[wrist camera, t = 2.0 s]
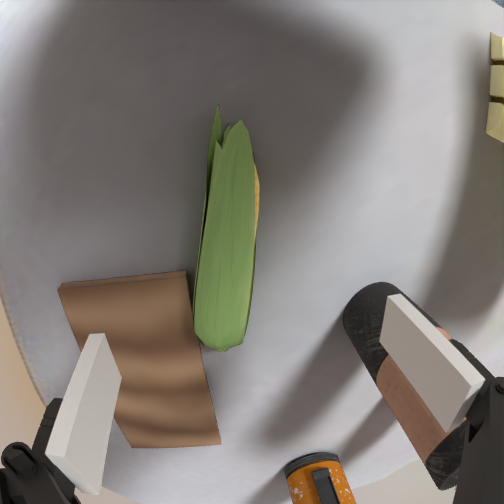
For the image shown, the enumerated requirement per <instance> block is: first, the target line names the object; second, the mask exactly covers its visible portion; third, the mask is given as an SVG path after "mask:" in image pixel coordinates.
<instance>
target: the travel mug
mask: <svg viewBox="0 0 504 504" xmlns="http://www.w3.org/2000/svg"><path fill="white" fill-rule="evenodd" d="M395 294H401V295H402V296H403V297H405V298H406V299H407V300H408V301H409V302H410V303H411V304H412V305H413V306H414V307H415V308H416V309H417V310H418V311H419V312H420V313H421V314H422V315H423V316H424V317H425V318H426V319H427V320H428V321H429V322H430V323H431V324H432V325H434V326H435V327H436V328H437V329H438V330H439V331H440V332H441V333H442V334H443V335H444V336H445V337H446V338H447V340H450V339H452V338H451V336H450V335H449V334H448V333H447V332H446V331H445V330H444V329H443V328H442V327H440V326H439V325H438V324H437V323H436V322H435V321H434V320H433V319H432V318H431V317H430V316H429V315H427V314H426V313H425V312H424V311H423V310H422V309H421V308H420V307H419V306H417V305H416V304H415V303H414V302H413V301H412V300H411V299H410V298H408V297H407V296H406V295H405V294H404V293H403V292H402V291H400V290H399V289H398V288H397V287H395V286H394V285H392V284H390V283H386V282H378V283H373V284H371V285H368V286H366V287H365V288H363V289H361V290H360V291H359V292H358V293H357V294H356V295H355V296H354V297H353V298H352V299H351V300H350V302H349V303H348V305H347V307H346V309H345V312H344V317H343V324H344V328H345V330H346V332H347V334H348V336H349V338H350V340H351V341H352V343H353V345H354V347H355V348H356V350H357V352H358V354H359V355H360V357H361V359H362V361H363V362H364V364H365V366H366V368H367V370H368V371H369V373H370V375H371V377H372V378H373V380H374V382H375V384H376V386H377V387H378V389H379V391H380V392H381V394H382V396H383V397H384V399H385V400H386V402H387V404H388V405H389V407H390V409H391V410H392V412H393V413H394V415H395V417H396V418H397V420H398V422H399V423H400V425H401V427H402V428H403V430H404V432H405V433H406V435H407V437H408V438H409V440H410V442H411V443H412V445H413V447H414V448H415V450H416V452H417V453H418V455H419V457H420V458H421V460H422V462H423V463H424V465H425V466H426V469H427V470H428V472H429V474H430V475H431V477H432V479H433V481H434V482H435V484H436V486H437V487H438V489H439V490H447V489H449V488H452V487H454V486H456V485H457V482H458V477H459V472H460V467H461V461H462V455H463V448H464V440H465V434H464V435H463V437H462V438H459V437H460V434H461V433H462V431H463V430H464V428H465V426H466V425H467V423H468V422H469V421H468V420H467V418H466V417H465V418H464V419H463V421H462V423H461V424H460V426H459V427H457V428H455V429H453V430H451V431H449V432H447V433H446V432H445V431H444V429H443V428H442V427H441V425H440V424H439V422H438V421H437V419H436V418H435V417H434V415H433V414H432V412H431V411H430V409H429V408H428V407H427V405H426V404H425V402H424V401H423V400H422V398H421V397H420V396H419V394H418V393H417V391H416V390H415V389H414V387H413V386H412V384H411V383H410V382H409V380H408V379H407V378H406V376H405V375H404V374H403V372H402V371H401V370H400V368H399V367H398V365H397V364H396V363H395V361H394V360H393V359H392V357H391V356H390V355H389V353H388V352H387V351H386V349H385V348H384V347H383V346H382V344H381V343H380V342H379V340H380V335H381V330H382V325H383V320H384V314H385V308H386V302H387V296H391V295H395Z"/></svg>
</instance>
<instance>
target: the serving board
mask: <svg viewBox="0 0 504 504" xmlns="http://www.w3.org/2000/svg"><path fill="white" fill-rule="evenodd" d="M57 291H58V293H59V296H60V299H61V302H62V305H63V308H64V310H65V313H66V316H67V318H68V321H69V323H70V326H71V329H72V331H73V334H74V336H75V338H76V341H77V343H78V345H79V348H80V350H81V352H82V350H83V348H84V346H85V343H86V341H87V339H88V336H89V334H98V333H105V336H106V339H107V342H108V344H109V347H110V350H111V352H112V355H113V357H114V360H115V362H116V365H117V367H118V370H119V372H120V375H121V377H122V379H121V383H120V388H119V392H118V397H117V401H116V406H115V411H114V418H115V420H116V422H117V424H118V425H119V427H120V429H121V430H122V432H123V434H124V435H125V437H126V439H127V440H128V442H129V444H130V445H131V447H132V448H177V447H195V446H209V445H220V444H221V437H220V433H219V429H218V425H217V421H216V417H215V413H214V409H213V404H212V400H211V396H210V391H209V387H208V382H207V378H206V373H205V369H204V364H203V359H202V354H201V349H200V344H199V339H198V337H197V336H196V334H195V333H194V332H193V307H192V302H191V296H190V290H189V284H188V278H187V272H186V271H177V272H167V273H158V274H149V275H139V276H130V277H120V278H110V279H101V280H91V281H81V282H71V283H62V284H61V285H60V287H59V288H58V289H57Z"/></svg>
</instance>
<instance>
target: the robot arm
mask: <svg viewBox="0 0 504 504" xmlns="http://www.w3.org/2000/svg"><path fill="white" fill-rule="evenodd" d="M492 1H494V2H495V3H496V4H498V5H500V6H501V7H503V8H504V0H492ZM379 342H380V343H381V344H382V346H383V347H384V348H385V349H386V351H387V352H388V353H389V355H390V356H391V357H392V359H393V360H394V361H395V363H396V364H397V365H398V367H399V368H400V370H401V371H402V372H403V374H404V375H405V376H406V378H407V379H408V380H409V382H410V383H411V384H412V386H413V387H414V389H415V390H416V391H417V393H418V394H419V396H420V397H421V398H422V400H423V401H424V402H425V404H426V405H427V407H428V408H429V409H430V411H431V412H432V414H433V415H434V417H435V418H436V419H437V421H438V422H439V424H440V425H441V427H442V428H443V429H444V431H445V432H446V433H447V432H449V431H451V430H453V429H455V428H457V427H459V426H460V424H461V423H462V421H463V419H464V418H465V417H466V418H467V420H468V421H469V422H468V423H467V425H466V426H465V428H464V430H463V431H462V433H461V434H460V437H459V438H462V437H463V435H464V434H465V440H464V448H463V455H462V461H461V467H460V472H459V477H458V482H457V487H456V492H455V496H454V500H453V504H504V377H496V378H495V377H494V376H493V375H492V374H491V373H490V372H489V371H488V370H487V369H486V368H485V367H484V366H483V365H482V364H481V363H480V362H479V361H478V360H477V359H476V358H474V355H473V354H472V353H471V352H470V353H469V350H468V349H467V348H466V347H465V346H464V345H463V344H461V343H459V342H458V341H456V340H454V339H450V340H447V338H446V337H445V336H444V335H443V334H442V333H441V332H440V331H439V330H438V329H437V328H436V327H435V326H434V325H432V324H431V323H430V322H429V321H428V320H427V319H426V318H425V317H424V316H423V315H422V314H421V313H420V312H419V311H418V310H417V309H416V308H415V307H414V306H413V305H412V304H411V303H410V302H409V301H408V300H407V299H406V298H405V297H403V296H402V295H401V294H395V295H391V296H387V302H386V308H385V314H384V320H383V325H382V330H381V335H380V340H379ZM121 379H122V377H121V375H120V372H119V370H118V367H117V365H116V362H115V360H114V357H113V355H112V352H111V350H110V347H109V344H108V342H107V339H106V336H105V333H98V334H89V336H88V339H87V341H86V343H85V346H84V348H83V350H82V353H81V355H80V357H79V360H78V362H77V365H76V367H75V370H74V372H73V375H72V377H71V380H70V382H69V385H68V387H67V390H66V393H65V395H64V398H63V399H61V398H54V399H53V400H52V402H51V403H50V404H49V405H48V406H47V408H46V411H45V413H44V416H43V419H42V421H41V424H40V427H39V429H38V432H37V435H36V438H35V441H34V444H33V447H32V450H31V449H30V448H29V447H28V445H26V444H24V443H23V442H14V443H11V444H10V445H8V446H7V447H6V448H5V449H4V451H3V452H2V456H1V462H2V464H3V466H5V468H2V469H0V504H81V502H80V501H79V500H78V498H77V496H75V494H74V490H75V486H76V487H77V488H78V489H79V490H80V491H81V492H82V493H87V494H95V495H100V493H101V486H102V479H103V472H104V465H105V459H106V453H107V447H108V442H109V436H110V431H111V426H112V421H113V416H114V411H115V406H116V401H117V397H118V392H119V388H120V383H121Z"/></svg>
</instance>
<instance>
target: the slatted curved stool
mask: <svg viewBox="0 0 504 504" xmlns="http://www.w3.org/2000/svg"><path fill="white" fill-rule="evenodd" d="M491 59H493V60H494V65H491V78H490V95H491V96H493V102H489V107H488V117H487V126H486V134H488V135H490V136H492V137H493V138H495V139H497V140H499V141H501V142H502V143H504V39H503V38H502V37H499V36H497V35H495V34H493V33H492V32H491Z"/></svg>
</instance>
